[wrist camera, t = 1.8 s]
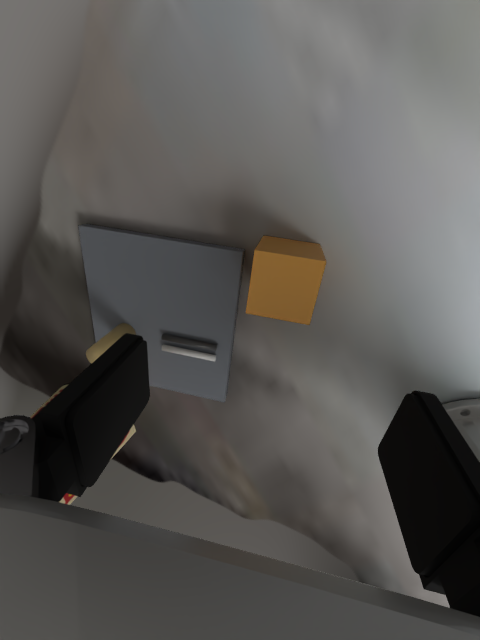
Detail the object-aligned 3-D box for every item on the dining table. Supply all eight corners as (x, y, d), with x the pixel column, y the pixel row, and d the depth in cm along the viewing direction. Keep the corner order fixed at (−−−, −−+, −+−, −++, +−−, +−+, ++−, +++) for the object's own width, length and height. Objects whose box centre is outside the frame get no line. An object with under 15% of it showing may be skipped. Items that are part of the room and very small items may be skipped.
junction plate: (245, 249, 25) (231, 267, 20) (226, 395, 34) (213, 436, 28) (86, 223, 27) (33, 234, 22) (106, 368, 36) (71, 402, 30)
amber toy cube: (319, 244, 24) (326, 261, 19) (306, 296, 26) (309, 325, 21) (263, 235, 25) (254, 249, 19) (255, 287, 27) (245, 313, 22)
